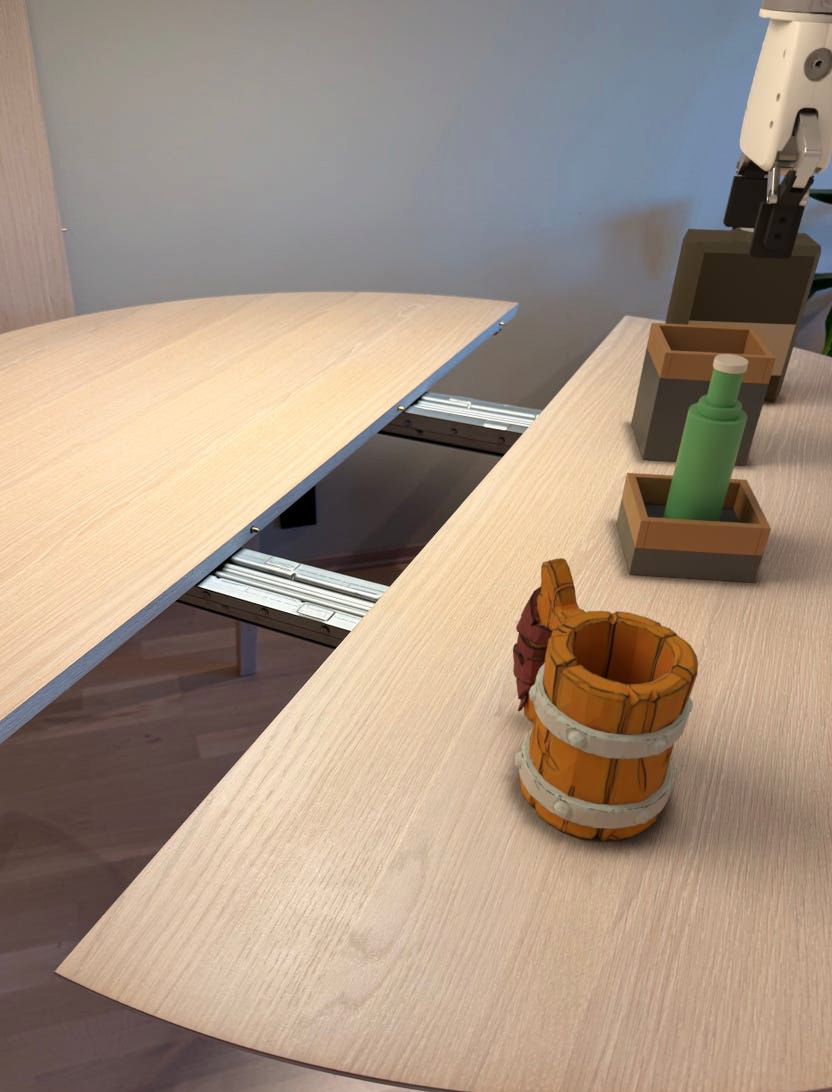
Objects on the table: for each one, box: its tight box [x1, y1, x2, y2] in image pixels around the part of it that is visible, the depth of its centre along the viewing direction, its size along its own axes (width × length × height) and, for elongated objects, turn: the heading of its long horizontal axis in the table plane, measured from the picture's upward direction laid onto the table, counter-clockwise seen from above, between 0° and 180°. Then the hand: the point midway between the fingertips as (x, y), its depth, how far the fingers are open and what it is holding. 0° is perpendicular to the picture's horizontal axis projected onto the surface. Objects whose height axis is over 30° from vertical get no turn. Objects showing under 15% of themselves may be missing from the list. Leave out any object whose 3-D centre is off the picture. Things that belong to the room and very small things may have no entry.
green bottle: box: [663, 354, 748, 522], centre depth 92 cm, size 5×5×17 cm
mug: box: [512, 557, 699, 842], centre depth 69 cm, size 11×16×15 cm, turn 24°
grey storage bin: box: [630, 322, 776, 466], centre depth 116 cm, size 12×10×13 cm
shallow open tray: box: [616, 472, 772, 583], centre depth 97 cm, size 12×10×6 cm
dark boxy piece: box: [664, 227, 822, 403], centre depth 126 cm, size 8×16×25 cm, turn 87°
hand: (754, 241), depth 82 cm, fingers open, 9 cm apart
